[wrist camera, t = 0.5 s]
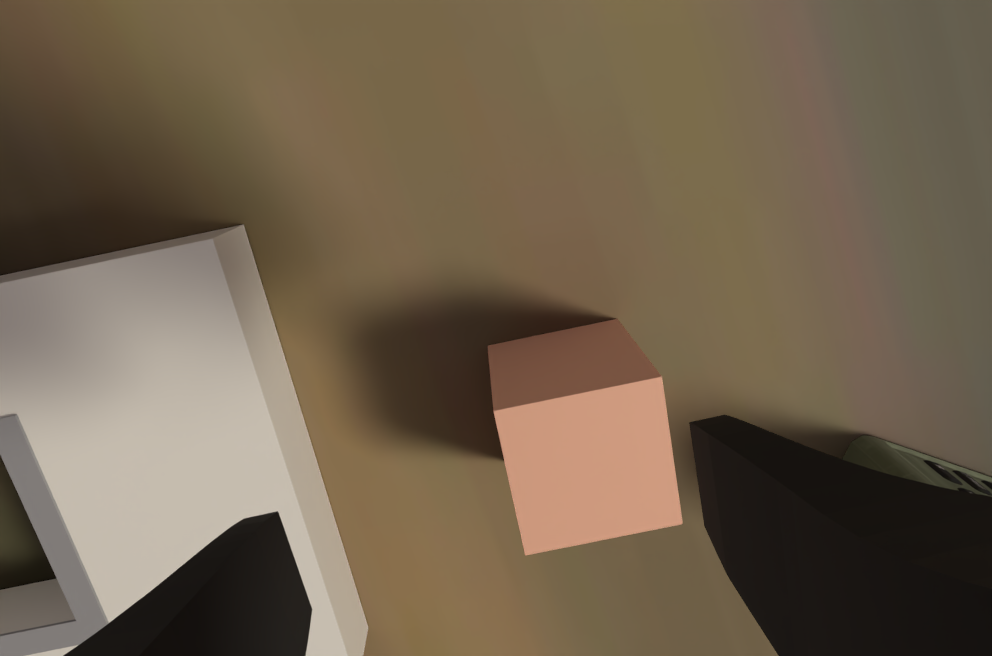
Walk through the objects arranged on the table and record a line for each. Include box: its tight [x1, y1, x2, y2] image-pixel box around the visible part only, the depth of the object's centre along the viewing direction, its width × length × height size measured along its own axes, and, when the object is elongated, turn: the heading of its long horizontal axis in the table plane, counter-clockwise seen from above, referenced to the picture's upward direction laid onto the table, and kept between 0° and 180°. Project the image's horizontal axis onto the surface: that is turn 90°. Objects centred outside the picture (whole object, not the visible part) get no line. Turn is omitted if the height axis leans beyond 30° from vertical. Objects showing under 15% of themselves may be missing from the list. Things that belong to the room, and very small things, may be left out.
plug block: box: [487, 319, 683, 555], centre depth 19 cm, size 4×4×5 cm
